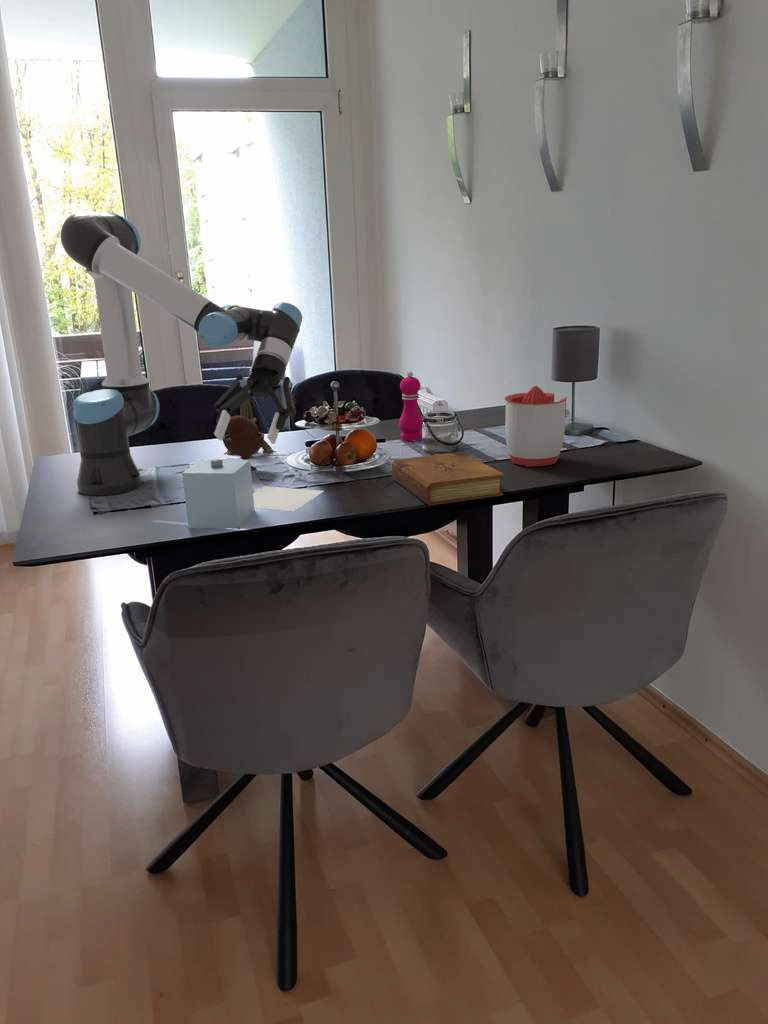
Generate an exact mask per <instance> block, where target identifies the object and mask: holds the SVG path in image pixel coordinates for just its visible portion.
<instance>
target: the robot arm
mask: <svg viewBox="0 0 768 1024" xmlns="http://www.w3.org/2000/svg"><path fill="white" fill-rule="evenodd" d="M60 241H61V242H60V243H61V245H62V248H63V249H64V251H65V253H66V254H67V255H68V257H70V259H72V260H73V261H74V262H76V264H78V265H80V266H81V267H83V268H85V271H86V273H87V274H88V275H90V276H91V278H92V279H93V283H94V290H95V295H96V297H95V298H96V305H97V311H98V312H97V313H98V319H99V320H98V321H99V325H100V335H101V342H102V349H103V357H104V365H105V371H106V378H105V379H104V380H103V381H102V382H101V389H98V390H97V389H96V390H95V389H94V390H93V391H88V392H85V393H82V394H80V395H78V396H77V397H76V398H75V399H74V400H73V403H72V404H73V405H72V406H73V415H72V416H73V419H74V423H75V428H76V429H75V430H76V437H77V442H78V447H79V448H78V449H79V453H80V464H79V469H78V473H77V475H78V476H77V481H76V485H77V491H78V492H79V493H80V494H82V495H87V496H109V495H110V496H111V495H115V494H116V495H117V494H122V493H127V492H130V491H132V490H135V489H137V488H139V487H141V486H142V484H143V483H142V475H141V472H140V471H139V469H138V467H137V465H136V463H135V461H134V459H133V457H132V454H131V448H130V442H129V441H130V440H129V437H131V436H133V435H136V434H138V433H143V432H144V431H146V430H147V429H149V427H151V426H153V424H154V423H155V422H156V420H157V419H158V417H159V413H160V402H159V398H158V396H157V394H156V393H154V392H153V390H152V389H151V388H150V381H149V379H148V378H147V377H146V376H145V375H143V372H142V365H141V355H140V349H139V347H140V346H139V339H138V333H137V331H138V330H137V323H136V315H135V314H136V313H135V305H134V298H133V293H134V294H136V295H137V296H138V297H140V298H142V299H144V300H146V301H147V302H149V303H150V304H152V305H153V306H155V307H157V308H158V309H160V310H162V311H163V312H165V313H167V314H168V315H169V316H171V317H173V318H175V320H178V321H180V322H181V323H183V324H185V326H187V327H189V328H191V329H192V330H194V331H195V332H197V333H198V334H199V336H200V338H201V339H202V341H203V342H204V343H205V344H206V345H208V346H211V347H214V348H218V347H219V348H222V347H227V346H230V345H232V344H234V343H238V342H241V341H243V340H245V341H247V340H248V341H255V342H260V344H259V347H258V349H257V351H256V357H254V360H253V363H252V367H251V372H250V375H249V377H248V378H246V377H244V378H243V375H240V374H238V375H237V376H236V377H235V380H234V381H233V383H232V384H231V385H230V386H229V387H228V389H227V390H226V391H225V392H224V393H223V394H222V395H221V396H220V397H219V398H218V399H217V401H216V402H215V403H214V404H213V407H214V409H215V410H216V411H217V412H218V415H217V418H216V420H215V423H216V424H217V425H216V426H215V430H214V432H213V435H214V436H215V437H216V438H217V440H218V441H223V436H224V435H226V434H225V433H226V432H227V429H226V428H227V426H228V423H229V420H230V418H231V417H232V416H231V415H230V414H232V412H234V411H235V410H236V409H237V408H240V407H241V404H243V403H244V402H245V401H247V400H248V399H250V400H252V399H253V398H254V397H255V398H268V397H271V399H272V402H274V405H275V406H276V408H277V410H278V412H275V413H274V416H273V419H272V422H271V425H270V428H269V430H268V433H267V436H266V438H267V440H269V442H270V443H271V444H272V445H275V444H276V441H277V438H278V435H279V432H280V430H283V429H284V426H285V424H286V422H287V419H288V418H289V417H292V418H294V417H296V415H297V412H296V406H295V401H294V396H293V392H292V390H293V386H294V383H293V382H292V380H291V379H290V377H289V376H285V373H286V370H287V367H288V364H289V361H290V359H291V355H292V352H293V350H294V346H295V344H296V340H297V338H298V337H299V336H298V335H299V333H300V330H301V329H300V328H301V325H302V322H303V314H302V312H301V310H300V308H298V307H297V306H296V305H294V304H292V303H289V302H284V301H283V302H281V303H280V302H278V303H276V304H275V305H274V306H273V308H272V310H266V309H265V310H264V309H263V310H262V309H256V308H251V307H246V306H245V307H244V306H240V305H238V304H234V305H232V304H231V305H230V304H224V305H222V306H220V305H218V304H216V303H214V302H213V301H211V300H210V299H208V298H207V297H205V296H204V295H202V294H200V293H198V292H197V291H195V290H194V289H192V288H191V287H189V286H187V285H185V284H184V283H182V282H181V281H179V280H178V279H176V278H174V277H173V276H171V275H169V274H168V273H166V272H165V271H163V270H161V269H160V268H158V267H156V266H155V265H154V264H152V263H150V262H149V261H147V260H146V259H144V258H142V257H141V256H138V254H139V253H140V251H141V235H140V234H139V231H138V229H137V227H136V226H135V225H134V223H133V222H132V221H131V220H130V219H128V218H127V217H126V216H124V215H121V214H120V213H119V214H118V213H114V212H108V211H105V212H102V211H101V212H99V211H89V210H88V211H87V210H86V211H85V210H83V211H78V212H75V213H73V214H71V215H70V216H69V217H67V218H66V219H65V220H64V222H63V224H62V226H61V230H60ZM284 376H285V377H284ZM280 388H282V389H283V394H284V395H283V396H284V399H285V405H286V408H285V407H284V405H283V404H282V402H281V399H280V398H279V396H278V393H277V390H278V389H280Z"/></svg>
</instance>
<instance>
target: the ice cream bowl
mask: <svg viewBox="0 0 768 1024" xmlns="http://www.w3.org/2000/svg"><path fill="white" fill-rule="evenodd" d="M255 423H256V422H255ZM255 423H253V422H252V421H250V420H247V419H246V418H245V417H244V416H240V415H233V416H231V417H230V420H229V423H228V426H227V428H226V432H227V434H224V436H223V439H222V442H223V446H224V447H225V449H227V450H229V451H230V452H231V453H233V455H235V456H239V457H241V458H242V459H241V458H240V459H241V460H250V459H249V457H250V456H251V455H255V454H257V452H259V451H260V450H261V449H262V448H261V447H262V445H263V442H264V440H265V433H264V432H260V431H259V426H258V424H257V423H256V424H255ZM258 431H259V432H258ZM254 471H255V472H257V471H258V469H257V467H255V466H253V465H251V472H254Z"/></svg>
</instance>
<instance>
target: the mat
mask: <svg viewBox="0 0 768 1024" xmlns="http://www.w3.org/2000/svg"><path fill="white" fill-rule="evenodd" d="M324 492H325V490H316V489H303V488H290V487H281V486H280V487H279V486H266V485H264V486H262V487H260V488H259V489H257V490H255V491H253V498H254V509H259V510H272V511H283V512H295V511H297V510H298V509H300V508H302V507H303V506H305V505H306V504H307V503H309V502H310V501H312V500H313V499H315V498H317V496H319V495H321V494H322V493H324Z"/></svg>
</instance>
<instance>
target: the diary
mask: <svg viewBox="0 0 768 1024" xmlns="http://www.w3.org/2000/svg"><path fill="white" fill-rule="evenodd" d="M391 476H392V477H391V478H392V480H393V481H395V482H396V483H398V484H399V485H400V486H401V487H403V488H404V489H405V490H407V491H408V492H410V493H411V494H412V495H414V496H415V497H416V496H417V497H416V498H418V499H419V500H420V501H422V502H424V503H425V504H426V505H428V506H430V507H431V506H437V505H443V504H451V503H458V502H465V501H471V500H472V501H473V500H479V499H480V500H482V499H487V498H493V497H495V498H496V497H501V496H504V492H501V490H500V487H501V485H500V484H501V483H500V482H501V479H503V478H504V473H503V472H501V471H499V470H497V469H495V468H493V467H492V466H490V465H487V464H486V463H484V462H482V461H480V460H478V459H476V458H474V457H472V456H470V455H468V454H467V453H465V452H463V451H457V452H450V453H449V452H447V453H440V454H432V455H431V454H430V455H424V456H423V455H422V456H413V457H407V458H396V459H394V460H393V461H392V463H391Z"/></svg>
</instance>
